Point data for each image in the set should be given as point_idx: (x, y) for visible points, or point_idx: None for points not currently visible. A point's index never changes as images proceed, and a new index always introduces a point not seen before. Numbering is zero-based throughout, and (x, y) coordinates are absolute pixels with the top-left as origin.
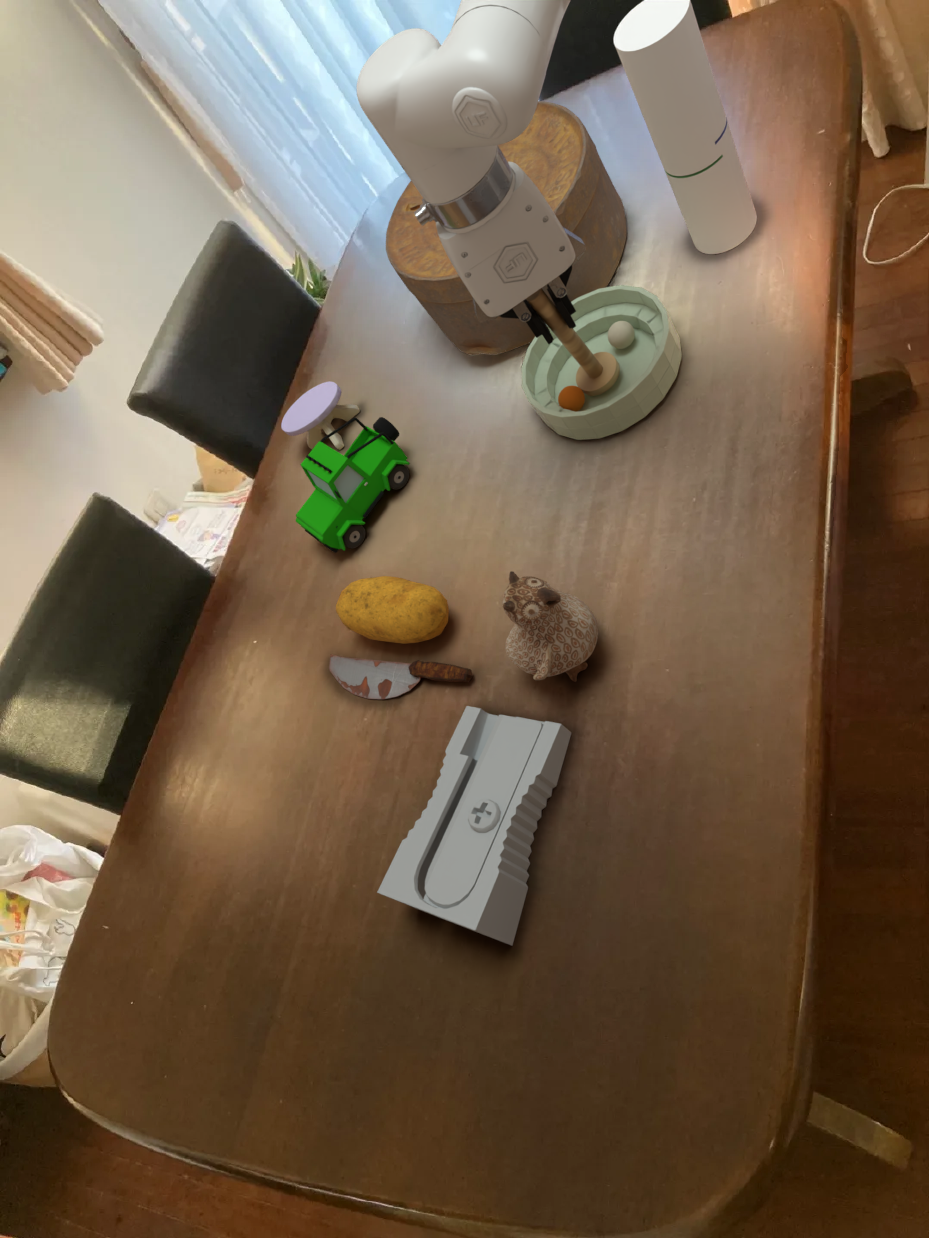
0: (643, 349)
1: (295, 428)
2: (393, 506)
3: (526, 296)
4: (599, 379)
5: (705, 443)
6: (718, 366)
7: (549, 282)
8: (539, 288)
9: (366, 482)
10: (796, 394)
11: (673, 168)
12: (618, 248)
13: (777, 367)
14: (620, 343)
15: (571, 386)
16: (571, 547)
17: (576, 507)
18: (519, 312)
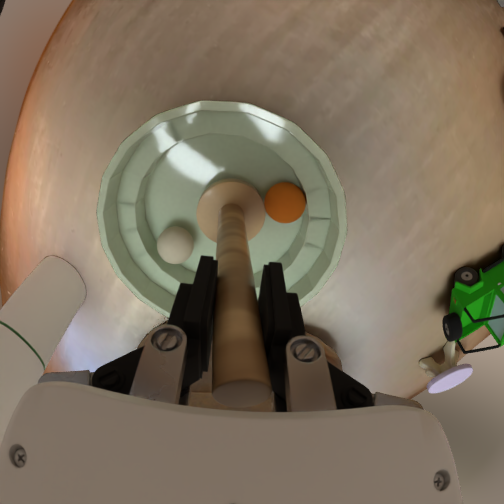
0: (163, 210)
1: (469, 369)
2: (477, 255)
3: (280, 425)
4: (233, 197)
5: (171, 21)
6: (104, 119)
7: (170, 392)
8: (203, 416)
9: (498, 284)
10: (71, 36)
11: (22, 353)
12: (144, 341)
13: (65, 79)
14: (180, 231)
15: (275, 214)
16: (391, 24)
17: (363, 59)
18: (317, 373)
